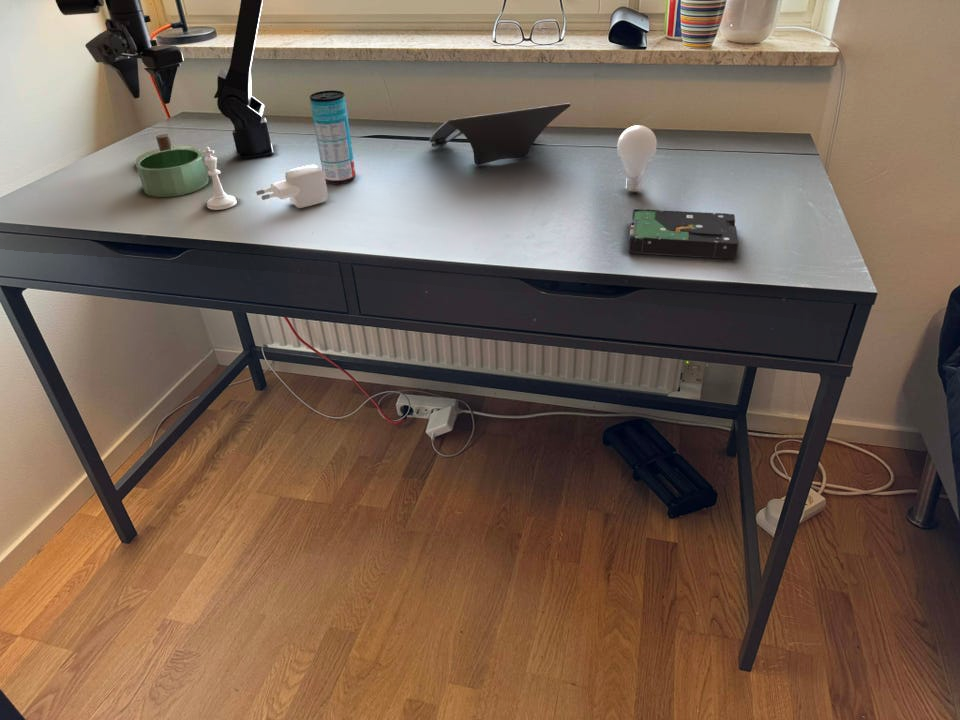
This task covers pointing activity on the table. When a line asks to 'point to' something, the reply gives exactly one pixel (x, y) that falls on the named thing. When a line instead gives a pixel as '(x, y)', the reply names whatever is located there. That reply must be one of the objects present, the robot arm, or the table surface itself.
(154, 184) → the tin
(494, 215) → the table surface
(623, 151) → the lightbulb
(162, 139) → the tin lid
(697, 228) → the disk drive
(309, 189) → the power adapter
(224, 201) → the chess piece
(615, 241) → the table surface
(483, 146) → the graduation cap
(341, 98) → the beverage can
